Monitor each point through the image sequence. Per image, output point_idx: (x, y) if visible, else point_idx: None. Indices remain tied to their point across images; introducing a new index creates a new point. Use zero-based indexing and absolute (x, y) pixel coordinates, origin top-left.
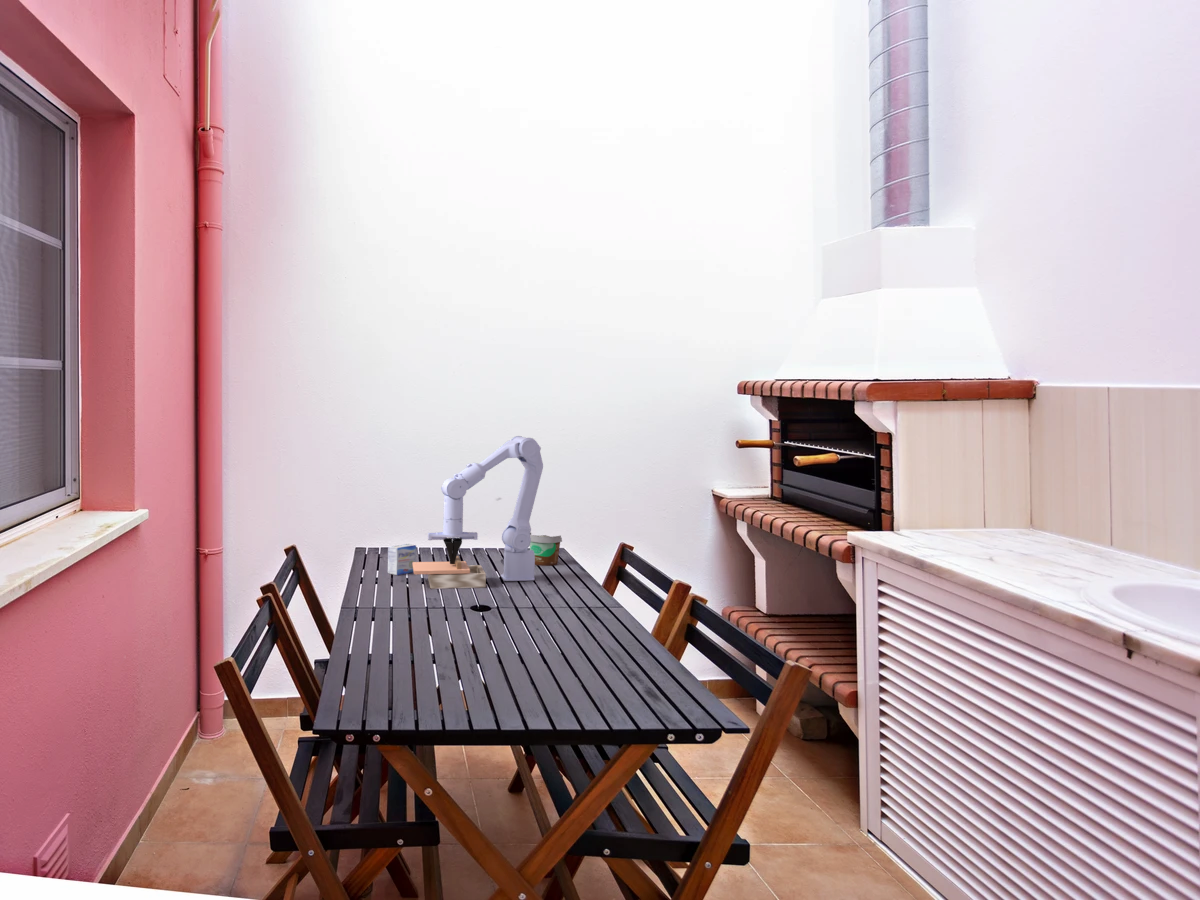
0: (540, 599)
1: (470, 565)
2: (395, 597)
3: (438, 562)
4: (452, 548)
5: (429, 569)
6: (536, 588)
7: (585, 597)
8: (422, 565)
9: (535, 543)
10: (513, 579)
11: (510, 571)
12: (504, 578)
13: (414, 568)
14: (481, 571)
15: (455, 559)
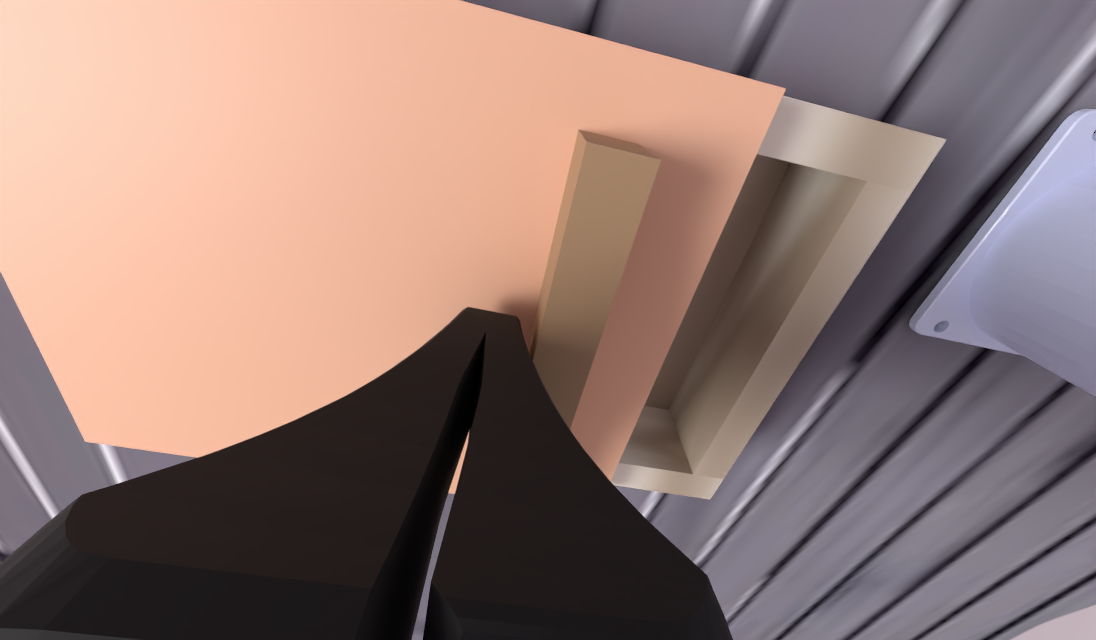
0: (774, 619)
1: (812, 117)
2: (136, 473)
3: (327, 45)
4: (412, 624)
5: (229, 421)
6: (917, 503)
7: (947, 633)
8: (97, 210)
9: None
10: (976, 343)
11: (1037, 355)
12: (950, 293)
13: (44, 344)
14: (731, 427)
15: (535, 342)
